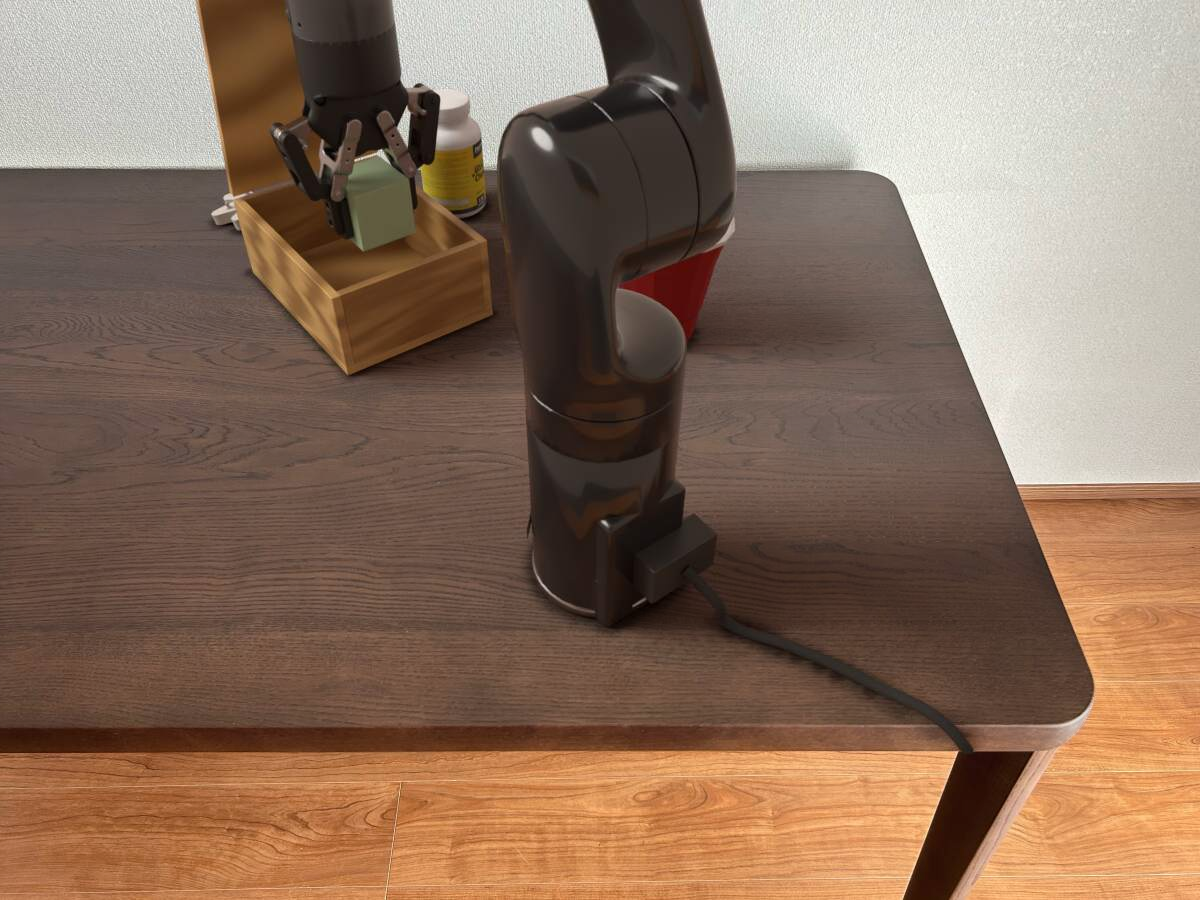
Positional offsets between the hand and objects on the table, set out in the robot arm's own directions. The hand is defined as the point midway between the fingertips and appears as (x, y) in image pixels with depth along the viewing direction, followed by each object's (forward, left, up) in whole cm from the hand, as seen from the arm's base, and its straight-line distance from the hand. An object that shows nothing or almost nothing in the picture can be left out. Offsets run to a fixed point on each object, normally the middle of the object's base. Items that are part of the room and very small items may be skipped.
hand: (375, 223), depth 82 cm
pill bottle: (+13, -15, -9) cm, 22 cm away
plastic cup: (-17, -18, -9) cm, 27 cm away
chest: (+4, 0, -9) cm, 10 cm away
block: (0, 0, -1) cm, 1 cm away
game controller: (+23, +1, -9) cm, 25 cm away
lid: (+11, 0, +9) cm, 14 cm away
